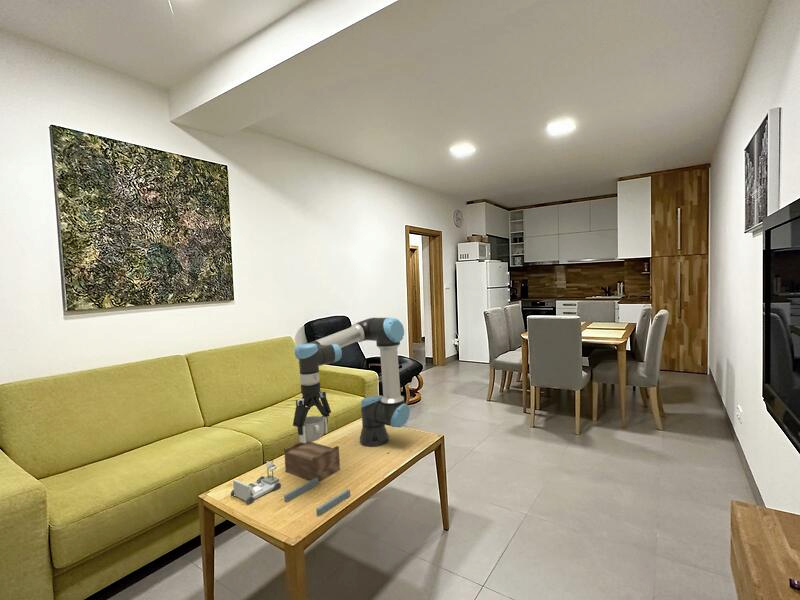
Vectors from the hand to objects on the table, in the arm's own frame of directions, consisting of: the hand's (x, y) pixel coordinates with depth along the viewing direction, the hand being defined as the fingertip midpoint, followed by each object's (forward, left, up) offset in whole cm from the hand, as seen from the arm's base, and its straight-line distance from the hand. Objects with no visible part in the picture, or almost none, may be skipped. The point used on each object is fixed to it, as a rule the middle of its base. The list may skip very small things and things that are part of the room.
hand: (314, 437), depth 161 cm
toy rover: (+14, -19, -22) cm, 32 cm away
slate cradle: (+5, +6, -21) cm, 23 cm away
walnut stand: (-10, -14, -21) cm, 27 cm away
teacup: (+1, 0, -1) cm, 1 cm away
